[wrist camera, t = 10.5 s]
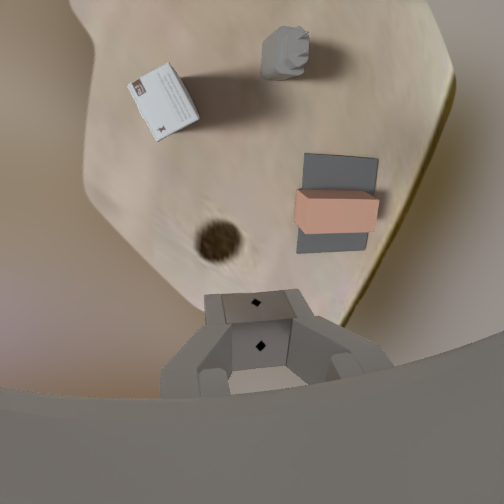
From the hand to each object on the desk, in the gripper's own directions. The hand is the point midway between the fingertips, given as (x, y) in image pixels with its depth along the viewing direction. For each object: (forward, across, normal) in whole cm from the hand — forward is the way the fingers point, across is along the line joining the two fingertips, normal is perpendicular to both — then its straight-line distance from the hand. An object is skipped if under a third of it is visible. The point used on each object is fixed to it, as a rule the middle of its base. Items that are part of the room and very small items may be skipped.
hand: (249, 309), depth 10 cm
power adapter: (+31, -8, -13) cm, 35 cm away
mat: (+31, -18, +6) cm, 36 cm away
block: (+28, -12, +6) cm, 31 cm away
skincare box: (+31, +4, -7) cm, 32 cm away
